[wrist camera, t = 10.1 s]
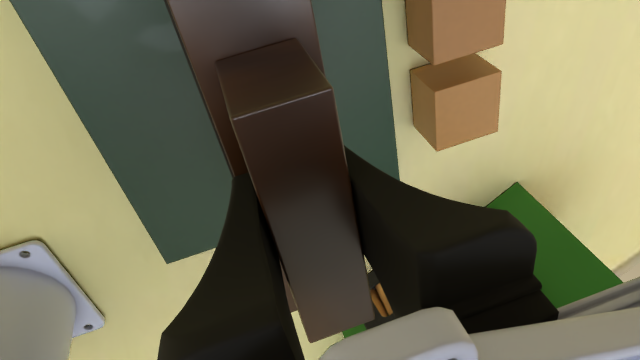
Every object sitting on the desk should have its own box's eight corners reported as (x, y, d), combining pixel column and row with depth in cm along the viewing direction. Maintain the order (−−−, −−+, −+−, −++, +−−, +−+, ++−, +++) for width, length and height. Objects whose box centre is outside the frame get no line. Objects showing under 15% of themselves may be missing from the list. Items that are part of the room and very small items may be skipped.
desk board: (166, 250, 29) (167, 264, 28) (-58, -134, 16) (-71, -132, 15) (392, 174, 30) (400, 185, 29) (347, -229, 18) (358, -233, 17)
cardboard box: (413, 126, 28) (436, 151, 26) (409, 69, 26) (434, 92, 24) (470, 108, 29) (497, 131, 26) (471, 50, 26) (502, 70, 24)
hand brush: (268, 263, 22) (302, 389, 17) (148, -51, 14) (145, 14, 8) (346, 235, 23) (402, 350, 18) (279, -85, 14) (351, -43, 9)
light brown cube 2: (407, 45, 25) (433, 66, 23) (402, -28, 23) (431, -13, 20) (471, 25, 25) (503, 44, 23) (473, -49, 23) (509, -36, 21)
